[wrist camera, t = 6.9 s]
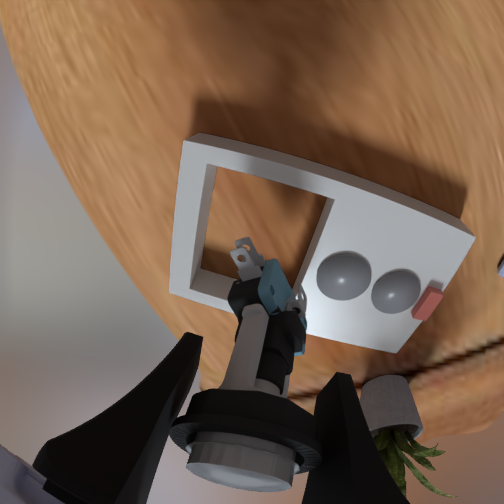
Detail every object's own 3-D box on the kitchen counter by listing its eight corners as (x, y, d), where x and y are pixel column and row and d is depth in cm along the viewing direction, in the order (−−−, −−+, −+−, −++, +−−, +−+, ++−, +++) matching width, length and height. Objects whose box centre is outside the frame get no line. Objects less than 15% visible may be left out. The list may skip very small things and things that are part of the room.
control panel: (460, 219, 16) (480, 242, 13) (391, 331, 22) (397, 359, 20) (199, 132, 17) (179, 142, 14) (181, 272, 23) (165, 297, 20)
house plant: (283, 395, 30) (257, 532, 16) (368, 326, 22) (376, 529, 9) (373, 423, 31) (370, 535, 18) (457, 369, 24) (481, 506, 10)
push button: (200, 248, 15) (99, 419, 7) (297, 214, 13) (260, 435, 5) (255, 336, 18) (213, 490, 9) (339, 317, 16) (334, 495, 7)
